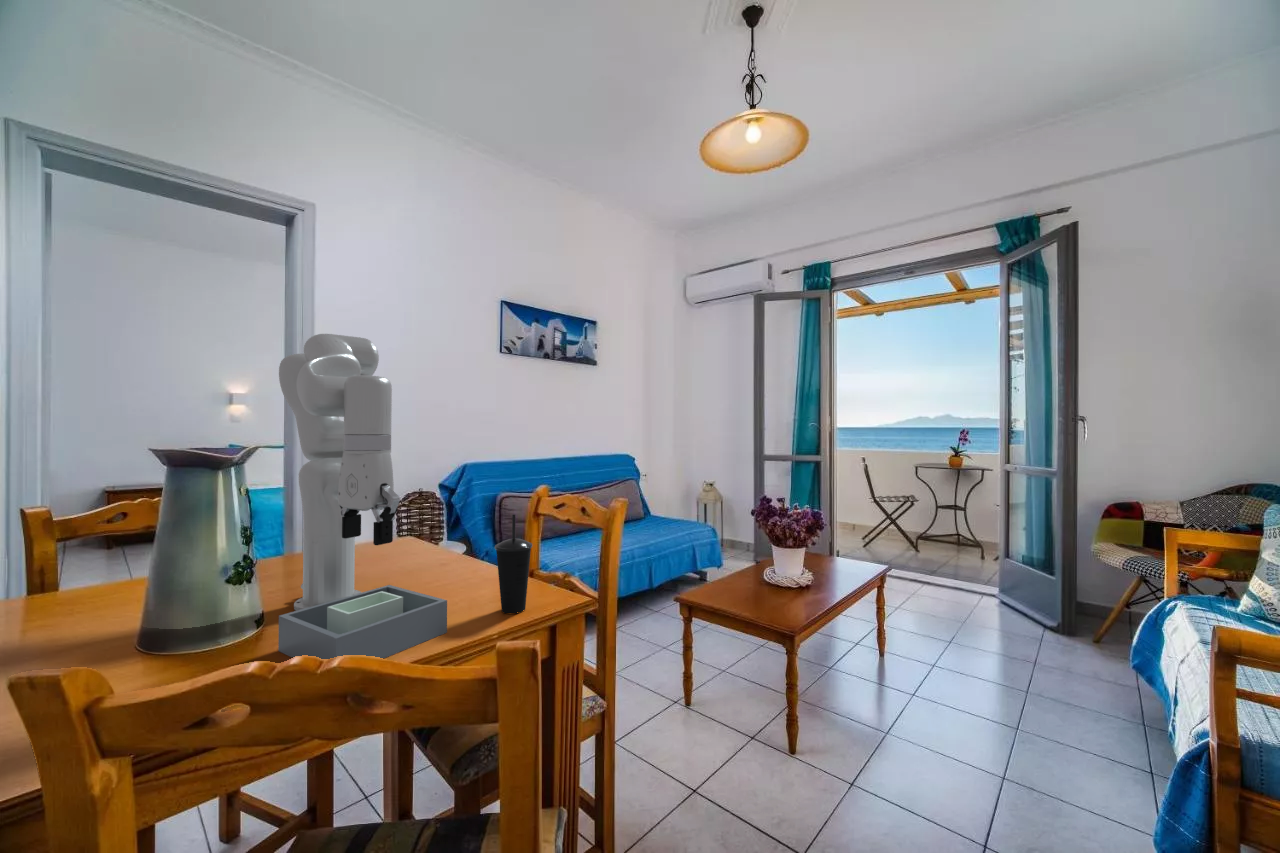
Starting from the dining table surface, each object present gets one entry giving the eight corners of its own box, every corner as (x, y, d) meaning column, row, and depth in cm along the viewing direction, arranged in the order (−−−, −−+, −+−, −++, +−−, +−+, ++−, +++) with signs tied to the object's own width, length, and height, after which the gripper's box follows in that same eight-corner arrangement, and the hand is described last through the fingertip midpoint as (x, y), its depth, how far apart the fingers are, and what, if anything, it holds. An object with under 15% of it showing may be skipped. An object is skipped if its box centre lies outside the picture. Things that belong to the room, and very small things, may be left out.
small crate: (326, 641, 86) (327, 607, 87) (381, 622, 95) (382, 591, 95) (347, 650, 83) (348, 614, 83) (402, 629, 92) (403, 597, 92)
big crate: (278, 651, 85) (278, 615, 85) (389, 614, 102) (389, 584, 102) (335, 677, 76) (336, 638, 76) (446, 632, 93) (447, 600, 93)
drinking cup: (517, 601, 110) (517, 510, 110) (539, 609, 105) (539, 514, 106) (487, 610, 104) (487, 515, 104) (509, 619, 99) (509, 519, 100)
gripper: (320, 444, 91) (319, 538, 90) (375, 446, 82) (374, 551, 82) (361, 443, 97) (360, 531, 97) (416, 445, 88) (416, 542, 88)
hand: (366, 540), depth 89 cm, fingers open, 9 cm apart
